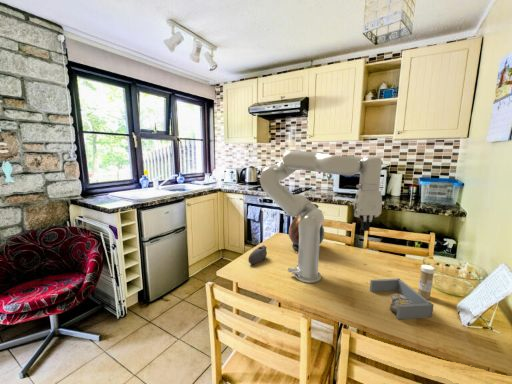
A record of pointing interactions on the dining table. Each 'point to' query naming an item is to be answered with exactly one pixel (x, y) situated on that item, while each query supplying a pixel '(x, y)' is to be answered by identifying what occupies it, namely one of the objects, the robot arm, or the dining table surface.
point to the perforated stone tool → (257, 255)
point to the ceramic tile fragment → (398, 301)
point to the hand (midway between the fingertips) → (365, 230)
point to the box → (406, 311)
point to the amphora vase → (295, 231)
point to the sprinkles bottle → (426, 281)
